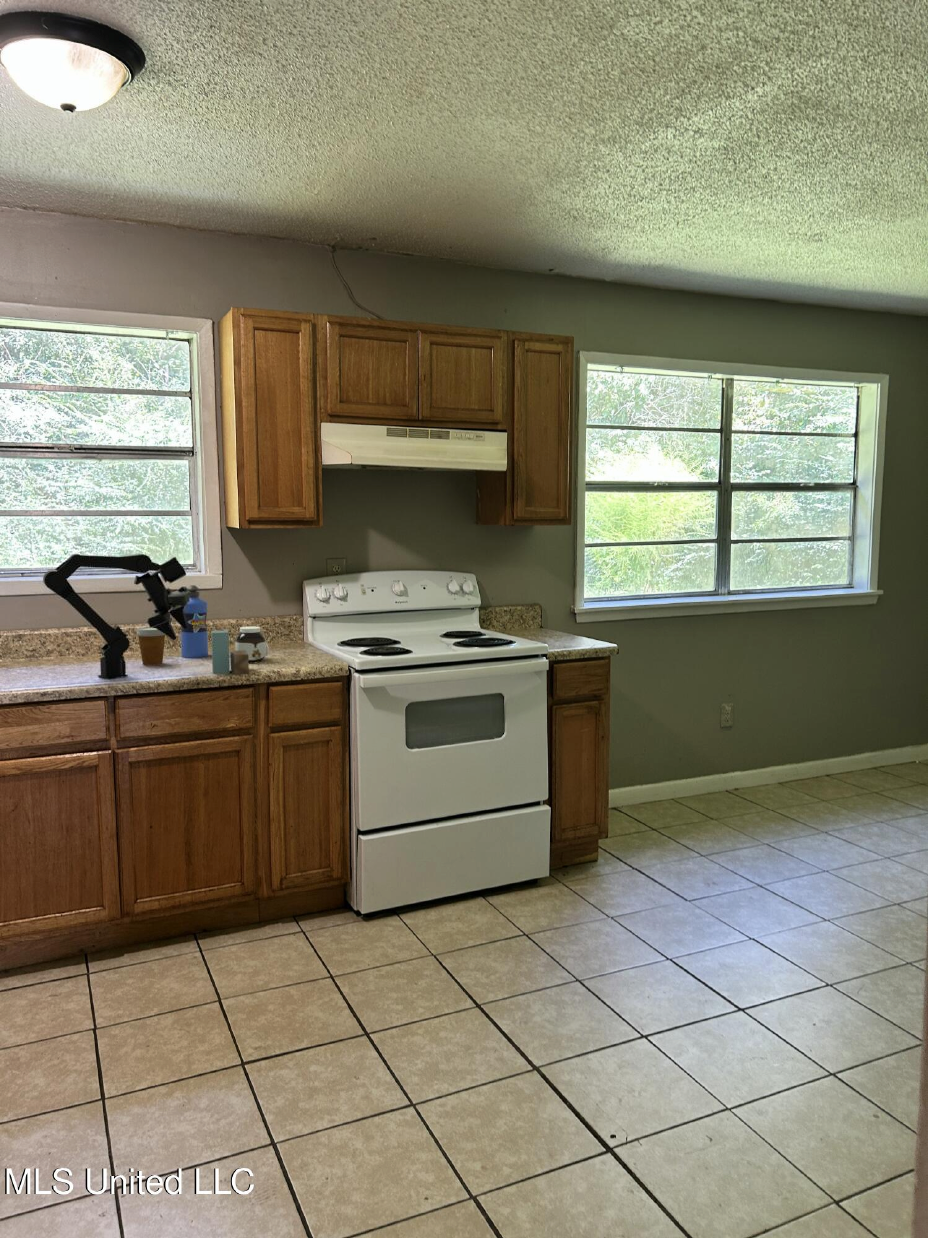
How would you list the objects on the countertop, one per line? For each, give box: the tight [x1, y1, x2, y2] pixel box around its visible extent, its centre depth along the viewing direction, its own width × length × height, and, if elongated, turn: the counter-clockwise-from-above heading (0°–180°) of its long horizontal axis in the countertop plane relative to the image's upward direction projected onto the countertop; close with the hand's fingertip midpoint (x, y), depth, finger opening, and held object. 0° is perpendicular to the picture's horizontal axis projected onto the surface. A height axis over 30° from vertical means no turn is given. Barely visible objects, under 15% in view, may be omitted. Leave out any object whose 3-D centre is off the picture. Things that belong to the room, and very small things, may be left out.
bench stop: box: [229, 650, 250, 675], centre depth 296 cm, size 5×10×6 cm, turn 17°
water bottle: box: [180, 585, 209, 659], centre depth 325 cm, size 9×9×25 cm
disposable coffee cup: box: [136, 626, 166, 666], centre depth 309 cm, size 10×10×12 cm
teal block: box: [211, 629, 231, 675], centre depth 294 cm, size 5×5×13 cm
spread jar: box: [234, 625, 270, 664], centre depth 317 cm, size 12×11×12 cm
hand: (180, 633), depth 293 cm, fingers open, 9 cm apart
